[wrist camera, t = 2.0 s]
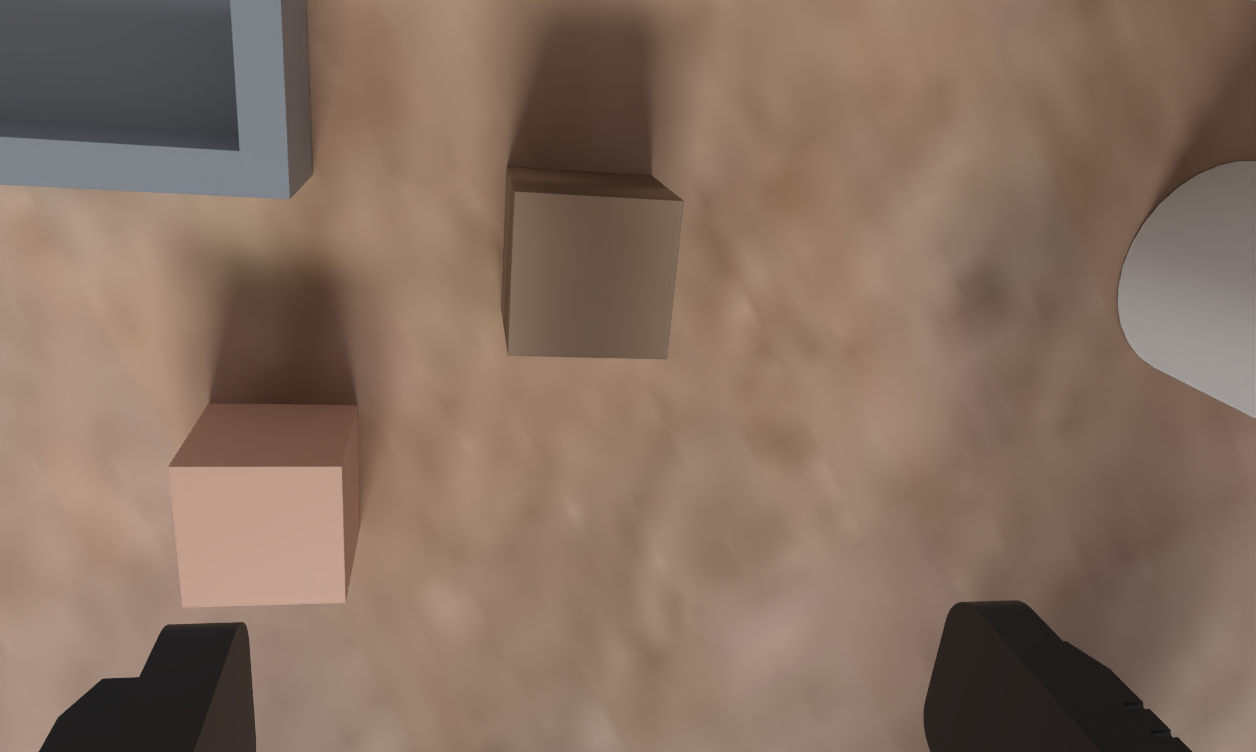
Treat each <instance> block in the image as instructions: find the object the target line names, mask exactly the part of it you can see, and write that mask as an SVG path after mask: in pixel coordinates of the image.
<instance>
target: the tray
mask: <svg viewBox="0 0 1256 752" xmlns="http://www.w3.org/2000/svg"><path fill="white" fill-rule="evenodd" d="M311 176H312V147H311V120H310V92H309V65H308V37H307V10H306V0H0V184H1V185H21V186H40V187H60V188H79V189H99V190H118V191H137V192H157V193H176V194H196V195H215V196H235V197H254V198H273V199H290V198H291V197H292V196H293V195H294V194H295V193H296V192H297V191H298V190H299V189H300V188H301V187H302V186H303V185H304V183H305V182H306V181H307V180H308V179H309V178H310V177H311Z"/></svg>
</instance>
